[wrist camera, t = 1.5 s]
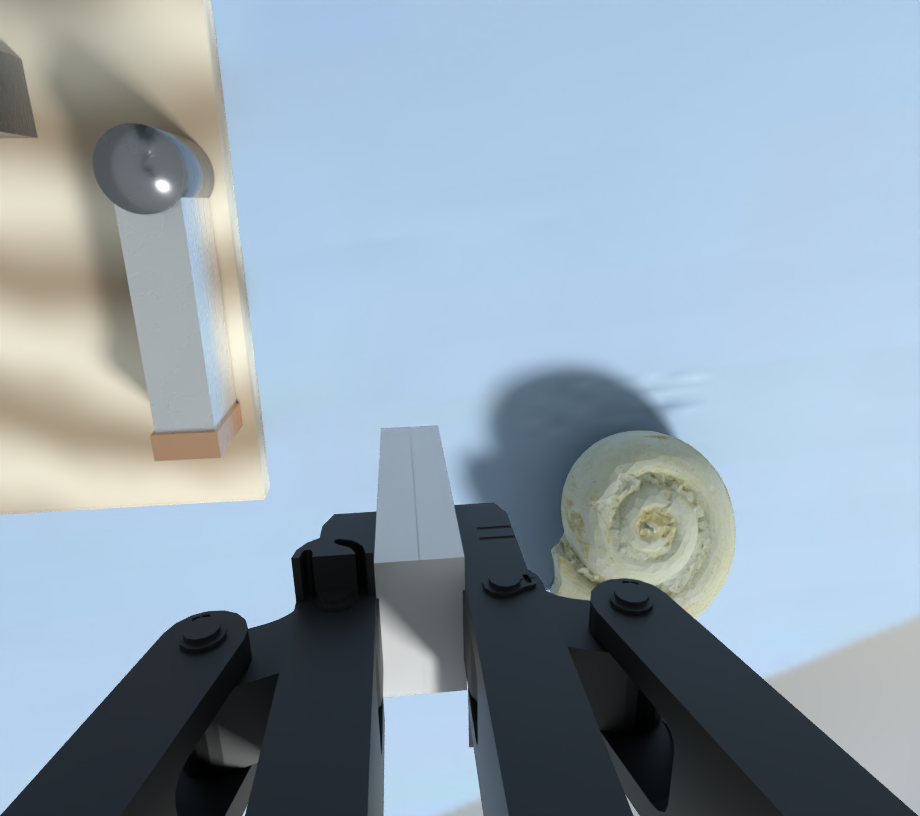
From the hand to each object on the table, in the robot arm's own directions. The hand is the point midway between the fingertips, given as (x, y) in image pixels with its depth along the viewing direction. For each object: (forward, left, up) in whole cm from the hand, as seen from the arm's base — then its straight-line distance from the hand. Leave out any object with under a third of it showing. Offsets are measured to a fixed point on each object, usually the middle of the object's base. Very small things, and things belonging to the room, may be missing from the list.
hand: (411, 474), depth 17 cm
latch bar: (-3, -10, -15) cm, 18 cm away
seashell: (+11, +12, -17) cm, 24 cm away
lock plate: (-4, -15, -17) cm, 23 cm away
